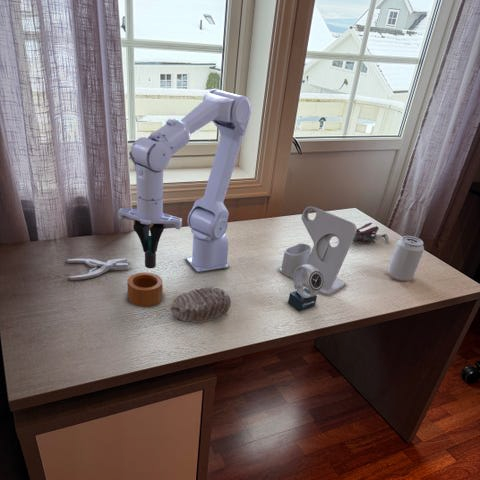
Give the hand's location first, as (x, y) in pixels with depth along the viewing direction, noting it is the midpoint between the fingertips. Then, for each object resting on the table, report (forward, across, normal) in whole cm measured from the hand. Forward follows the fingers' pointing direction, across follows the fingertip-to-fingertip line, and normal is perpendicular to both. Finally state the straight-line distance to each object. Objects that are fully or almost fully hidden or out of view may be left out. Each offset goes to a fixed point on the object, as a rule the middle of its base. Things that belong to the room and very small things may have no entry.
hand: (150, 251), depth 106 cm
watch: (+11, +38, +5) cm, 40 cm away
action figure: (+10, +57, +52) cm, 78 cm away
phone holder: (+10, +41, +20) cm, 47 cm away
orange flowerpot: (+10, 0, -4) cm, 11 cm away
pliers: (+11, -16, +5) cm, 20 cm away
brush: (+4, 0, 0) cm, 4 cm away
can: (+10, +67, +30) cm, 74 cm away
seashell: (+11, +15, -7) cm, 19 cm away
